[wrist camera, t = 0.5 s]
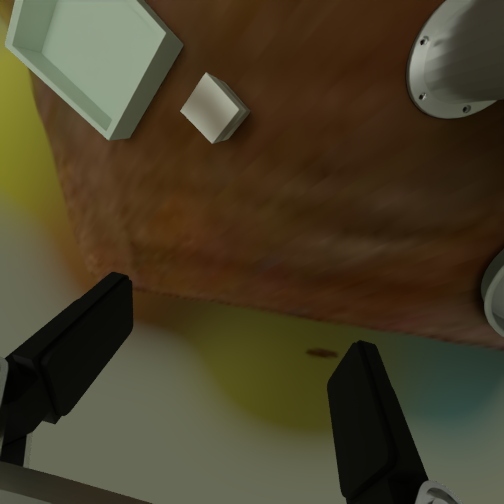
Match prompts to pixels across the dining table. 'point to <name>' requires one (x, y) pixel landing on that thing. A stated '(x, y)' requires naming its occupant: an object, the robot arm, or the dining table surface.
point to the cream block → (215, 109)
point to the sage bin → (96, 56)
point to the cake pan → (494, 293)
